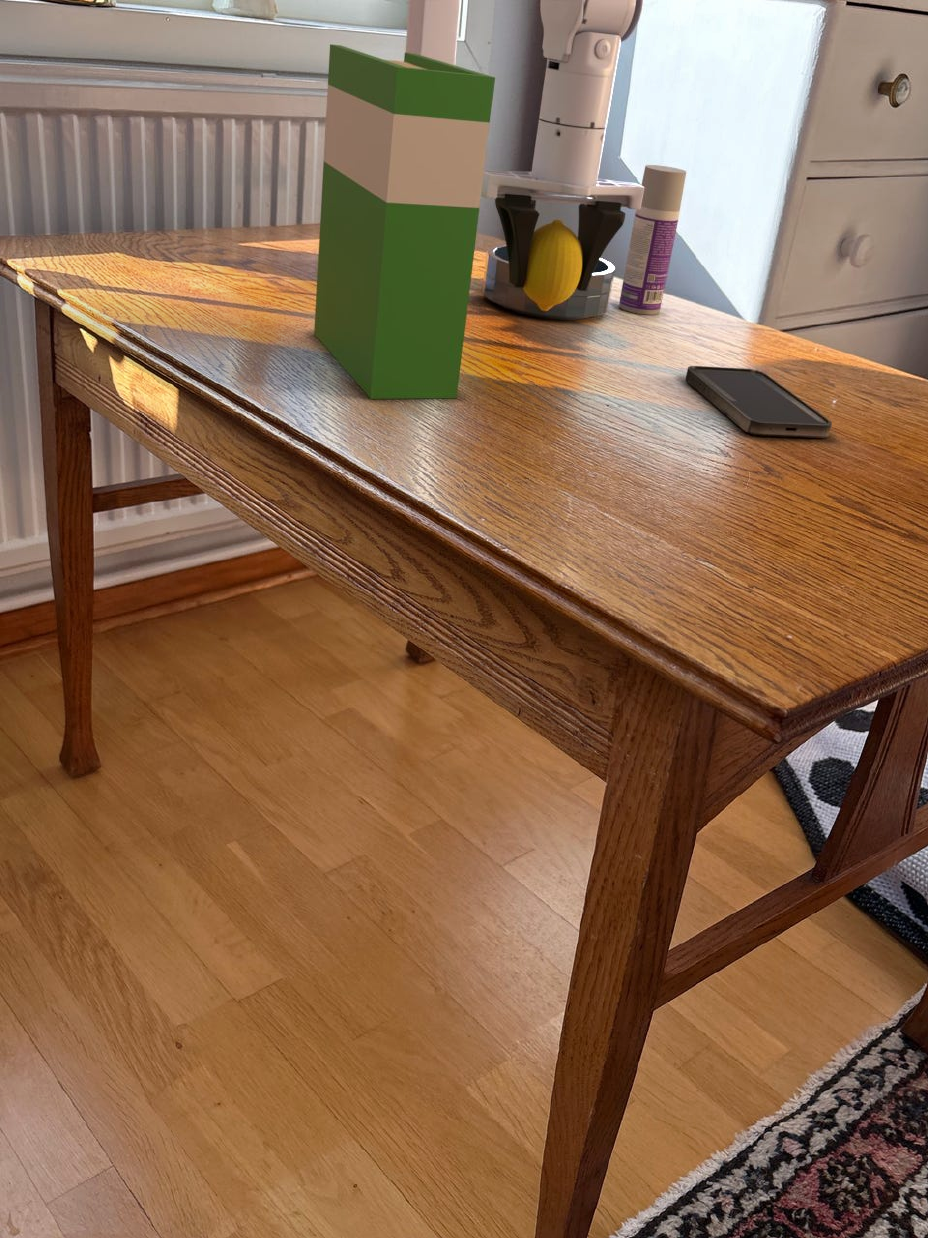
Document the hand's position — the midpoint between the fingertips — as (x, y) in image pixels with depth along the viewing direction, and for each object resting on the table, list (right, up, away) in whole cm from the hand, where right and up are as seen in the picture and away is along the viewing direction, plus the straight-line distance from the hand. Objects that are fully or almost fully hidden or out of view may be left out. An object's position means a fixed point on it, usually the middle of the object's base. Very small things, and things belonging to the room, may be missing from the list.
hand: (547, 286), depth 102 cm
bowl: (+1, +5, +23) cm, 23 cm away
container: (+12, +5, +27) cm, 30 cm away
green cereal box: (-15, -8, -3) cm, 17 cm away
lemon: (0, -2, +1) cm, 2 cm away
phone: (+18, -11, -1) cm, 21 cm away
